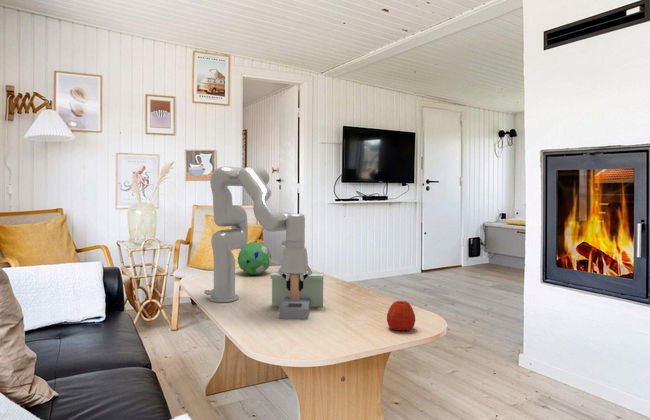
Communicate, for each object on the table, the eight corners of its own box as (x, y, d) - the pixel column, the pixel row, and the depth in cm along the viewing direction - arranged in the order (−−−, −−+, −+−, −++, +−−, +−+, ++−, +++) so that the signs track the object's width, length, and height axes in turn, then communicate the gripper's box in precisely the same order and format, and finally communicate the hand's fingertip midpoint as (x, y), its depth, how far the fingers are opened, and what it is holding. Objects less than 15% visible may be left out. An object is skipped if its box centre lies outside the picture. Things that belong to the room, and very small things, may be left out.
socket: (279, 318, 170) (279, 308, 170) (284, 306, 187) (284, 297, 187) (307, 319, 170) (307, 309, 169) (310, 307, 187) (310, 297, 187)
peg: (289, 300, 173) (289, 270, 172) (290, 297, 177) (290, 268, 176) (299, 300, 173) (299, 270, 172) (300, 298, 177) (300, 268, 176)
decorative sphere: (266, 285, 254) (250, 270, 239) (241, 274, 264) (224, 259, 249) (282, 257, 261) (268, 241, 246) (258, 248, 271) (242, 232, 256)
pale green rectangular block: (270, 309, 183) (270, 275, 182) (272, 305, 190) (272, 271, 189) (322, 310, 182) (323, 275, 182) (323, 305, 189) (323, 272, 188)
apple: (396, 335, 153) (396, 305, 152) (381, 326, 162) (381, 298, 162) (420, 331, 157) (421, 302, 156) (404, 323, 166) (404, 296, 166)
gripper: (273, 245, 170) (272, 292, 171) (315, 246, 170) (315, 292, 171) (275, 243, 178) (275, 287, 179) (316, 243, 177) (316, 288, 178)
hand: (294, 289), depth 175 cm, fingers closed on peg, 4 cm apart
